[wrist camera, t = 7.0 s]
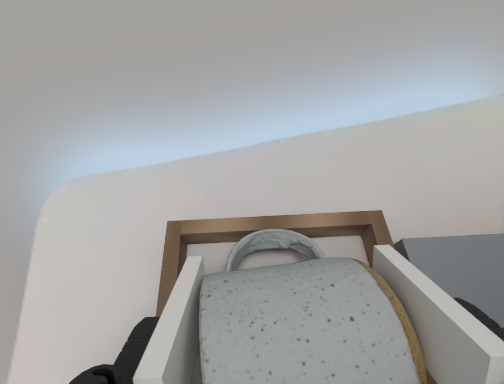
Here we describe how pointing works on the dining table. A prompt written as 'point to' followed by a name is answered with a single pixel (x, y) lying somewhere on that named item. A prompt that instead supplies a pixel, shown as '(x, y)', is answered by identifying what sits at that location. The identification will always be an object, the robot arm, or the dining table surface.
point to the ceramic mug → (304, 321)
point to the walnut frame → (237, 228)
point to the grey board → (463, 268)
